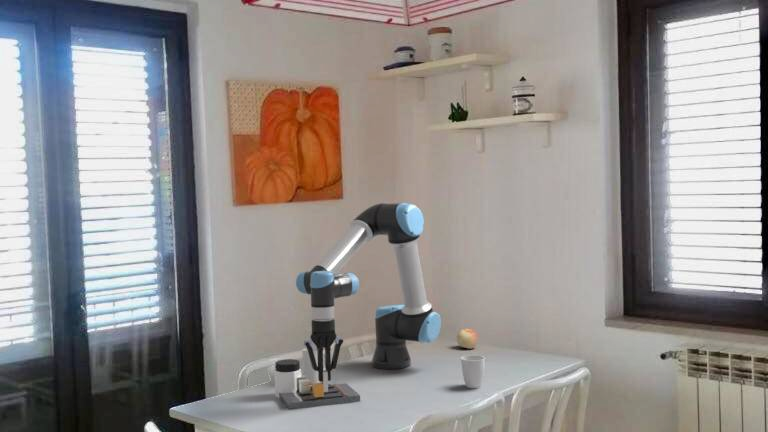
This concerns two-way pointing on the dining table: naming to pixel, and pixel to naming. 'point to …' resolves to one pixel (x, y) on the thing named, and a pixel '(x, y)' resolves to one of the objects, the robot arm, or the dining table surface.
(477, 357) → the cup
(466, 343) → the apple
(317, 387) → the handle
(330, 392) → the panel
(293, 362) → the jar
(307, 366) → the mug
